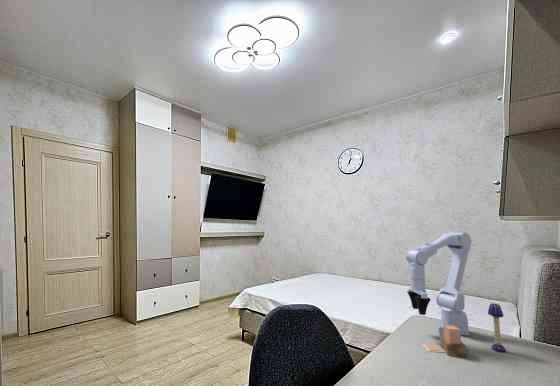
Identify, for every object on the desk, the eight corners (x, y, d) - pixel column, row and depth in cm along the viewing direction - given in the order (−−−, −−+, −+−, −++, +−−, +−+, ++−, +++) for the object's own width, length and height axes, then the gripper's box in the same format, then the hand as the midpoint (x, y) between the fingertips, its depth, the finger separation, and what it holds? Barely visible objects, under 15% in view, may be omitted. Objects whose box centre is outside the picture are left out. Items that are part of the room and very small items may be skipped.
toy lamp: (507, 354, 97) (504, 306, 99) (491, 351, 99) (488, 304, 101) (504, 348, 101) (501, 303, 103) (489, 346, 104) (486, 301, 106)
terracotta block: (454, 339, 100) (453, 325, 101) (461, 344, 96) (460, 329, 97) (443, 338, 101) (443, 324, 101) (449, 343, 97) (449, 329, 97)
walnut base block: (459, 350, 100) (459, 339, 101) (466, 358, 94) (465, 346, 95) (441, 348, 102) (441, 337, 102) (447, 355, 96) (447, 344, 96)
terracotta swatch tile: (438, 345, 103) (438, 344, 103) (445, 352, 98) (445, 351, 98) (422, 344, 104) (422, 343, 104) (428, 351, 98) (428, 350, 98)
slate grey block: (448, 339, 109) (447, 327, 109) (455, 344, 105) (455, 330, 105) (439, 340, 108) (438, 327, 109) (446, 344, 104) (445, 331, 105)
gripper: (402, 275, 122) (403, 305, 121) (413, 281, 108) (415, 316, 106) (418, 275, 121) (420, 306, 120) (432, 282, 107) (433, 317, 105)
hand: (418, 311), depth 113 cm, fingers open, 7 cm apart
